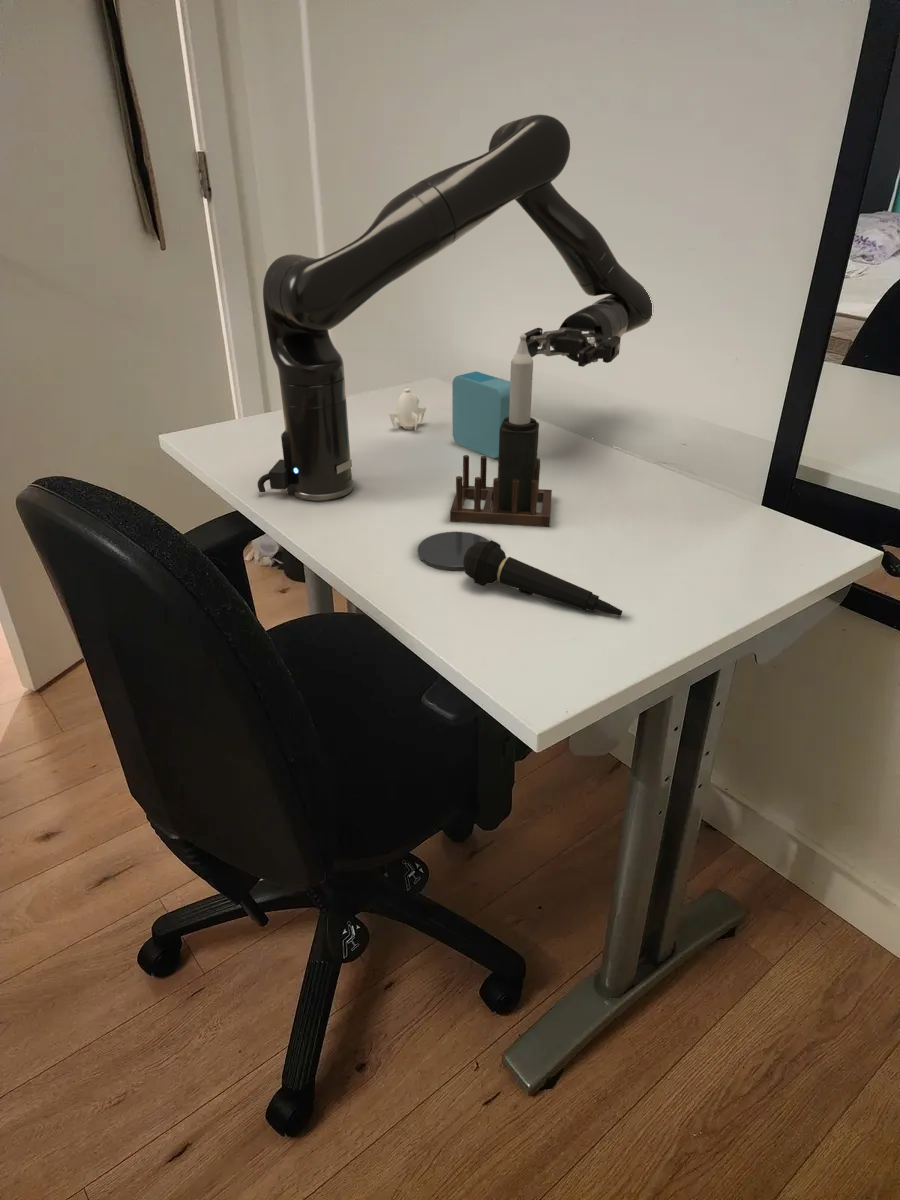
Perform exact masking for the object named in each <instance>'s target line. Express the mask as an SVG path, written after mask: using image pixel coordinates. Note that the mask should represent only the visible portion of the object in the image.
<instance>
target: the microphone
mask: <svg viewBox="0 0 900 1200" xmlns="http://www.w3.org/2000/svg"><path fill="white" fill-rule="evenodd" d="M463 564H464V569H465V570H464V572H465V574H466V575H467V576H468V577H469V578H471V579H472V580H473V583H475V584H476V585H478V586H482V587H485V586H487V585H492V584H494V583H495V582H498V583H499V584H502V585H505V586H507V587H510V588H514V589H517V590H518V592H519V593H521V594H524V595H527V596H533V595H536V596H538V597H542V598H546V599H548V600H552V601H554V602H558V603H561V604H564V605H568V606H571V607H574V608H577V609H580V610H584V611H590V612H594V611H598V612H601V613H604V614H609V615H614V616H619V617H622V614H623V610H622V609H620V608H618V607H617V606H614V605H612V604H611V603H609V602H607V601H604V600H603V599H600V595H597V594H594V593H593V591H591V590H588V589H585V588H583V587H581V586H579V585H576V584H573V583H571V582H570V581H567V580H565V579H562V578H560V577H558V576H555V575H553V574H551V573H548V572H546V571H544V570H541V569H539V568H537V567H535V566H532V565H530V564H528V563H525V562H523V561H521V560H518V559H516V558H513V557H511V556H508V557H507V556H506V552H505V551H504V550H503V549H502V547H501V544H500V543H498V542H496V541H494V540H492V539H491V540H489V542H477V543H475V544H474V545H472V546H471V547H470V548H469V549H468V550H467V552H466V554H465V556H464V560H463Z"/></svg>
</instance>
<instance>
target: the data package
mask: <svg viewBox="0 0 900 1200" xmlns="http://www.w3.org/2000/svg"><path fill="white" fill-rule="evenodd" d="M451 384H452V385H451V386H452V387H451V389H452V395H451V397H452V399H451V400H452V403H451V404H452V413H451V415H452V417H451V418H452V419H451V421H452V438H453V440H454V442H455V443H456V444H457V445H459V446H462V447H464V448H466V449H468V450H471V451H474V452H477V453H479V454H481V455H483V456H486V457H489V458H492V459H498V458H499V429H500V427H501V424H502V422H503V421H504V419H505V418H507V417H509V406H510V380H507V379H503V378H500V377H497V376H494V375H489V374H486V373H483V372H480V371H472V372H467V373H463V374H459V375H456V376H454V377H453V379H452V383H451Z"/></svg>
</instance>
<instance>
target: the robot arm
mask: <svg viewBox="0 0 900 1200" xmlns="http://www.w3.org/2000/svg"><path fill="white" fill-rule="evenodd" d="M570 152H571V138H570V135H569V132H568V130H567V127H565V125H564V124H563V123H562V122H561V121H560V120H559V119H557V118H556V117H554V116H551V115H547V114H533V115H529V116H525V117H522V118H519V119H516V120H512V121H510V122H506V123H505V124H502V125H501V126H499V127H498V128H497V129H496V130H494V132H493V134H492V136H491V138H490V140H489V145H488V151H486V152H485V153H482V155H479V156H477V157H474V158H472V159H469V160H467V161H463V162H460V163H457V164H455V165H453V166H450V167H447V168H445V169H443V170H440V171H438V172H436V173H433V174H431V175H429V176H428V177H426V178H423V179H422V180H420V181H417V182H416V183H415V184H413V185H412V186H409V187H408V188H407V189H405V190H403V191H401V192H400V193H399V194H397V195H396V196H394V197H393V198H392V199H391V200H390V201H388V202H387V203H386V204H385V205H384V207H383V208H381V210H380V211H379V213H378V214H377V216H376V217H375V219H374V220H373V221H372V223H371V225H370V226H368V227H369V228H367V229H366V231H365V232H364V233H363V234H362V235H360V236H359V237H358V238H357V239H355V240H354V241H352V242H350V243H348V244H347V245H345V246H343V247H341V248H339V249H337V250H335V251H334V252H331V253H329V254H326V255H325V256H322V257H319V258H314V257H309V256H306V255H301V254H295V253H294V254H293V253H292V254H284V255H282V256H279V257H278V258H276V259H275V260H274V261H273V262H271V264H270V265H269V267H268V268H267V270H266V272H265V275H264V279H263V283H262V301H263V311H264V316H265V317H264V318H265V323H266V328H267V335H268V336H267V337H268V341H269V348H270V352H271V356H272V358H273V362H274V363H275V365H276V367H277V371H278V380H279V388H280V397H281V406H282V413H283V422H284V431H283V432H282V433H281V435H280V439H281V448H282V457H283V459H278V461H276V463H275V464H274V465H273V467H271V469H270V470H269V471H268V473H264V474H263V475H262V476H260V477H259V478H258V480H257V489H258V492H259V493H265V492H266V488H265V483H266V482H267V481H269V487H270V489H271V490H282V491H283V490H287V491H286V492H287V496H294V497H296V498H298V499H302V500H305V501H312V502H313V501H315V502H321V501H322V502H324V501H331V500H337V499H340V498H342V497H345V496H347V495H349V494H350V493H351V492H352V491H353V489H354V480H353V473H352V468H353V460H352V459H351V446H350V435H349V434H350V433H349V419H348V417H349V416H348V403H347V392H346V378H345V363H344V359H343V357H342V354H340V352H339V351H338V350H337V348H336V346H335V345H334V343H333V341H332V339H331V335H330V333H329V331H330V330H332V329H334V328H335V327H337V326H339V325H340V324H341V323H343V322H344V321H345V320H346V319H348V317H350V316H351V315H352V314H353V313H354V312H356V311H357V310H358V309H359V308H360V307H362V306H363V305H364V304H365V303H366V302H367V301H368V300H370V299H371V298H372V297H373V296H374V295H376V294H377V293H378V292H380V291H381V290H382V289H384V288H385V287H386V286H388V285H389V284H391V283H393V282H395V281H396V280H398V279H399V278H401V277H403V276H404V275H406V274H407V273H409V272H410V271H412V270H413V269H415V268H416V267H418V266H420V265H422V264H423V263H425V262H426V261H427V260H430V259H431V258H433V257H434V256H437V254H439V253H441V252H443V251H444V250H445V249H447V248H448V247H449V246H451V245H453V244H454V243H455V242H456V241H458V240H459V239H461V238H463V236H465V235H466V234H468V233H470V232H471V231H473V229H475V228H477V227H478V226H480V225H481V224H482V223H483V222H485V221H486V220H487V219H489V218H490V217H491V216H493V215H494V214H495V213H496V212H498V211H499V210H500V209H502V208H503V207H505V206H506V205H508V204H509V203H511V202H513V201H515V202H517V204H518V205H519V206H520V207H521V208H522V209H523V210H524V212H525V213H526V214H527V215H528V216H529V218H530V219H531V220H532V221H533V222H534V223H535V224H536V226H537V227H538V228H539V229H540V231H541V232H542V233H543V234H544V235H545V236H546V238H547V239H548V240H549V242H550V243H551V244H552V245H553V247H554V248H555V249H556V251H557V252H558V254H559V255H560V256H561V258H562V260H563V261H564V263H565V264H566V266H567V267H568V269H569V271H570V273H571V274H572V276H573V277H574V279H575V280H576V282H577V283H578V285H579V287H580V288H581V290H582V291H583V293H585V295H587V296H590V297H595V296H596V297H597V296H598V297H599V296H603V295H607V296H604V297H602V298H601V299H598V300H596V301H595V302H593V303H592V304H590V305H587V306H585V307H583V308H582V309H579V310H577V311H576V312H574V313H572V314H570V315H568V316H567V317H566V318H565V319H564V320H563V321H562V323H561V325H560V326H559V328H558V329H555V330H547V331H544V330H543V328H541V327H535V328H533V329H530V330H529V331H527V332H524V333H523V334H525V335H526V344H527V348H528V352H529V354H530V356H531V357H532V358H534V357H535V356H537V355H544V356H545V357H553V356H562V357H566V358H568V359H569V360H571V361H573V362H576V363H577V364H578V365H577V366H578V367H582V368H584V367H585V366H587V365H590V364H591V363H597V362H598V361H599V360H602V362H603V363H606V364H608V363H611V362H613V360H615V359H616V358H617V357H618V356H619V355H620V350H621V349H620V348H621V339H622V337H623V335H624V334H627V333H629V332H631V331H634V330H636V329H640V328H641V327H643V326H645V325H646V324H648V323H649V322H650V321H651V320H650V319H652V318H651V316H652V317H653V315H652V303H651V300H650V297H651V296H650V297H649V295H650V294H649V295H648V293H649V292H648V291H647V292H648V293H647V292H646V290H647V289H646V288H645V286H644V285H642V284H641V283H640V282H639V281H638V280H637V279H636V278H635V277H633V276H632V275H631V274H630V273H629V272H628V271H627V270H626V269H625V268H624V267H623V266H622V265H620V263H619V262H618V260H617V259H616V257H615V255H614V253H613V251H612V250H611V248H610V246H609V244H608V243H607V241H606V239H605V238H604V237H603V235H602V234H601V232H600V230H598V229H597V227H596V226H595V225H594V224H593V223H592V222H591V221H590V220H589V219H588V218H586V217H585V216H584V215H583V214H581V212H579V211H578V210H577V209H576V208H574V207H573V206H572V205H571V204H570V203H569V202H568V201H567V200H566V199H565V198H564V197H563V196H562V195H561V193H559V191H558V190H557V189H556V187H555V186H554V185H553V183H552V182H554V181H555V180H556V179H557V178H558V177H559V176H560V175H561V173H562V172H563V170H564V169H565V168H566V165H567V163H568V162H569V161H568V160H569V157H570ZM644 288H645V289H646V290H645V289H644ZM551 348H552V349H551Z"/></svg>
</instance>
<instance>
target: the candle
mask: <svg viewBox="0 0 900 1200" xmlns="http://www.w3.org/2000/svg"><path fill="white" fill-rule="evenodd" d="M519 339H520V341H519V343H518V347H517V350H516V352H515V354H514V355H513V357H512V358H511V360H510V380H509V381H510V406H509V417H507V418H505V419H504V421H503V422H502V424H501V427H500V429H499V463H498V462H497V478H499V479H500V497H499V510H503V511H511V504H512V480H513V479H518V480H519V492H518V511H522V512H530V500H531V481H532V480H536V470H537V458H538V450H539V449H538V448H539V430H540V423H539V422H537V419H535V418H533V417H531V415H532V414H531V413H532V398H533V397H532V395H533V394H532V393H533V374H534V359H533V357H531V356H530V354H529V352H528V348H527V344H526V335H525V334H524V333H521V334H520V336H519Z"/></svg>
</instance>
